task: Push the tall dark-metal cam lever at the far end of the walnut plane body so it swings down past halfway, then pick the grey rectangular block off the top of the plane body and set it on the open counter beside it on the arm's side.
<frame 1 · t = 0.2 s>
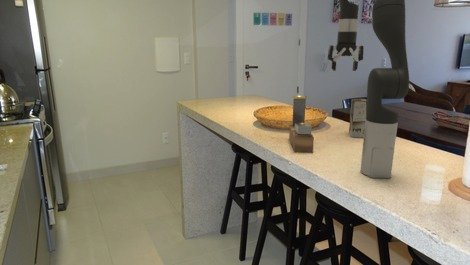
hand: (344, 70, 147), 29 cm above the breakfast bar counter, tool pointing down, fingers open, 8 cm apart
plane body: (300, 145, 140), on the breakfast bar counter
coffee box: (356, 135, 156), on the breakfast bar counter
lever: (299, 110, 145), point 13 cm above the breakfast bar counter, hinge at 0.0°
grey rectangular block: (302, 132, 134), point 7 cm above the breakfast bar counter, tilted 7°, touching plane body
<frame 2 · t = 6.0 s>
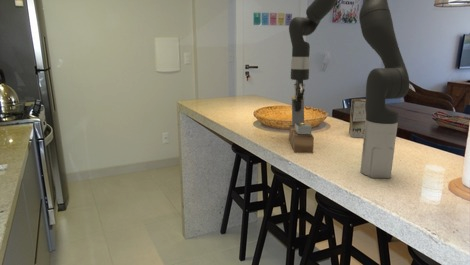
hand: (298, 109, 147), 13 cm above the breakfast bar counter, tool pointing down, fingers closed
lever: (297, 110, 148), point 12 cm above the breakfast bar counter, hinge at 27.7°, touching gripper
everything else where it was.
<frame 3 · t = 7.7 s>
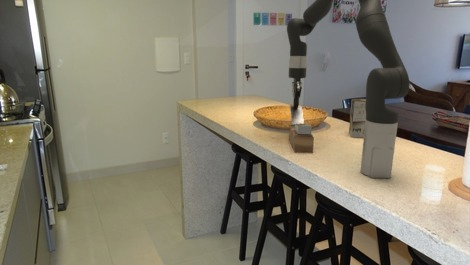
hand: (295, 106, 154), 13 cm above the breakfast bar counter, tool pointing down, fingers closed
lever: (296, 114, 151), point 10 cm above the breakfast bar counter, hinge at 57.5°, touching gripper
everything else where it was.
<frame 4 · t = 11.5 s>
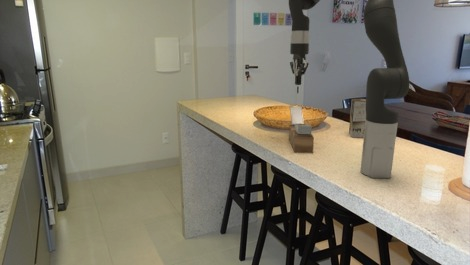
hand: (297, 84, 147), 23 cm above the breakfast bar counter, tool pointing down, fingers closed
lever: (296, 115, 152), point 9 cm above the breakfast bar counter, hinge at 60.3°
everything else where it was.
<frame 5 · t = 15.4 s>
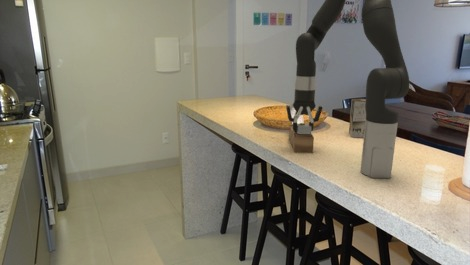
hand: (302, 131, 134), 7 cm above the breakfast bar counter, tool pointing down, fingers closed on grey rectangular block, 5 cm apart
grey rectangular block: (302, 132, 134), point 7 cm above the breakfast bar counter, tilted 7°, touching gripper, plane body
everything else where it was.
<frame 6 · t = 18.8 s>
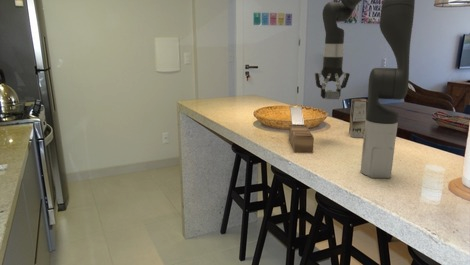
hand: (330, 97, 141), 18 cm above the breakfast bar counter, tool pointing down, fingers closed on grey rectangular block, 5 cm apart
grey rectangular block: (330, 98, 141), point 18 cm above the breakfast bar counter, tilted 7°, touching gripper
everything else where it was.
when the fingers open (2 cm above the breakfast bar counter, at t = 22.4 s): grey rectangular block drops 2 cm, on the breakfast bar counter.
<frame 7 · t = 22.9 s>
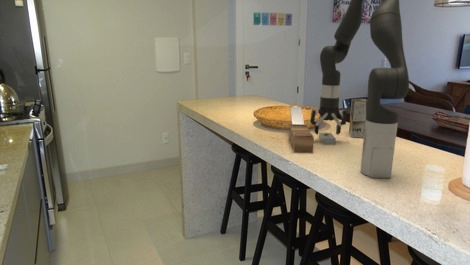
hand: (327, 134, 145), 3 cm above the breakfast bar counter, tool pointing down, fingers open, 8 cm apart
grey rectangular block: (326, 142, 146), on the breakfast bar counter
everything else where it was.
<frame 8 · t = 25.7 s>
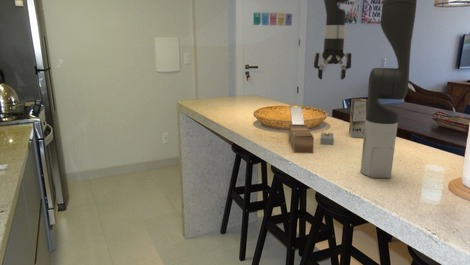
hand: (331, 79, 140), 26 cm above the breakfast bar counter, tool pointing down, fingers open, 8 cm apart
at the end: lever at +60° (first picture: +0°); grey rectangular block inside the target area (0.4 cm from its centre), on the breakfast bar counter; grey rectangular block touching breakfast bar counter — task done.
